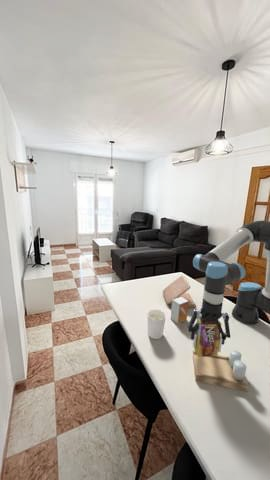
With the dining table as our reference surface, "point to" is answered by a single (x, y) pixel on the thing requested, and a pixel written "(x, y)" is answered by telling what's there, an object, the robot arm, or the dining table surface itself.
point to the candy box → (207, 339)
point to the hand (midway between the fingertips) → (206, 347)
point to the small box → (179, 309)
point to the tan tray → (216, 372)
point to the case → (178, 291)
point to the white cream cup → (156, 323)
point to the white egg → (234, 357)
